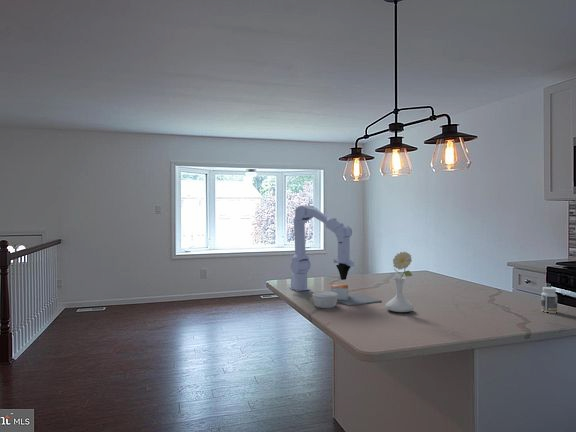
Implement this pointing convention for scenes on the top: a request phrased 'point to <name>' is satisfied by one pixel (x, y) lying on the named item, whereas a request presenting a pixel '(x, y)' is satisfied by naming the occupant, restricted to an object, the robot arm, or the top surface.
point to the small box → (340, 291)
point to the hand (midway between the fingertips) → (343, 279)
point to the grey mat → (358, 299)
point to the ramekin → (325, 299)
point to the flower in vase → (400, 284)
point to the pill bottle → (549, 300)
